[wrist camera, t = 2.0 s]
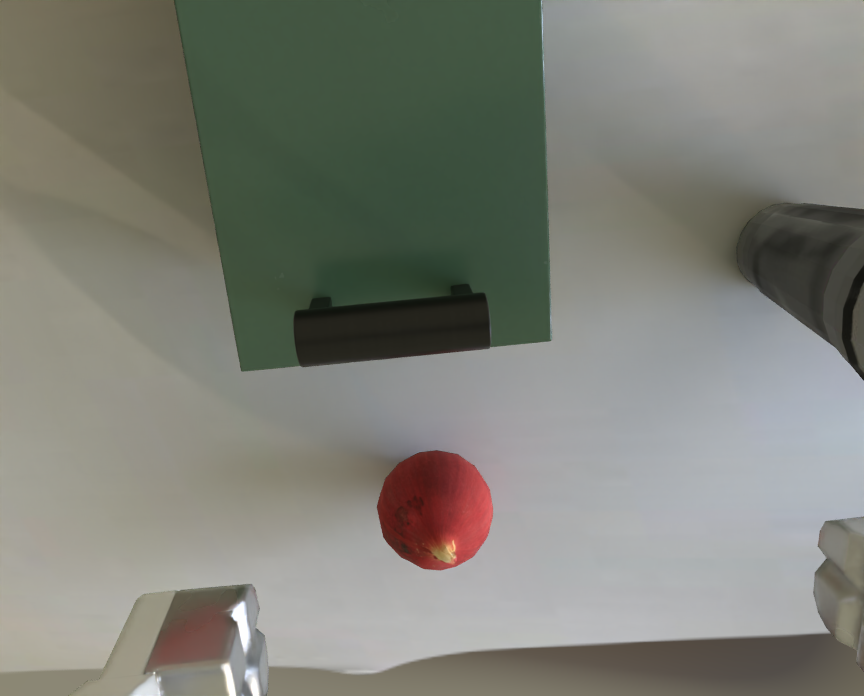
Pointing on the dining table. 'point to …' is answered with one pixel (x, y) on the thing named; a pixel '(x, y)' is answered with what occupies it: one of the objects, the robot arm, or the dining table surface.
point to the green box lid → (374, 174)
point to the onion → (435, 510)
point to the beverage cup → (811, 269)
